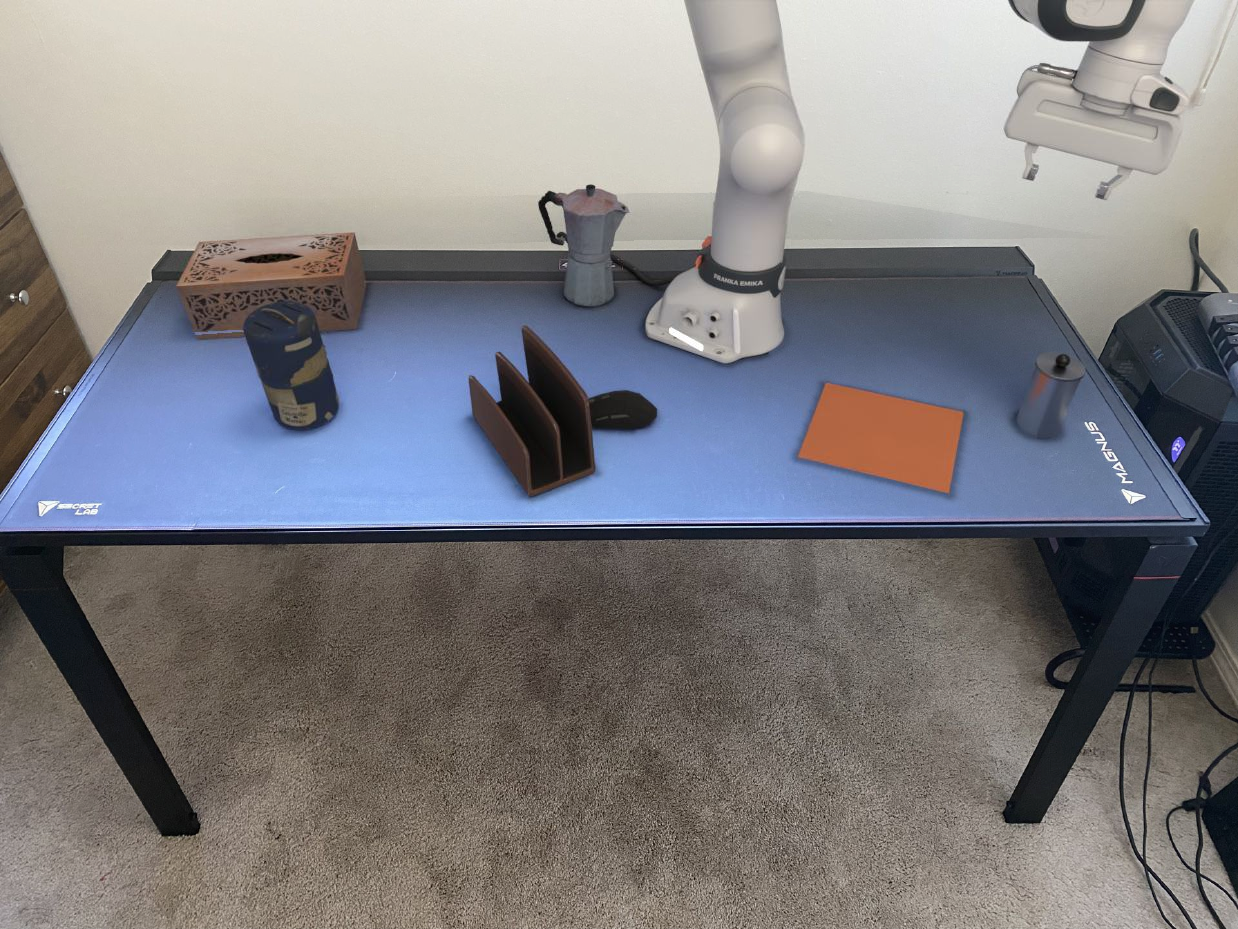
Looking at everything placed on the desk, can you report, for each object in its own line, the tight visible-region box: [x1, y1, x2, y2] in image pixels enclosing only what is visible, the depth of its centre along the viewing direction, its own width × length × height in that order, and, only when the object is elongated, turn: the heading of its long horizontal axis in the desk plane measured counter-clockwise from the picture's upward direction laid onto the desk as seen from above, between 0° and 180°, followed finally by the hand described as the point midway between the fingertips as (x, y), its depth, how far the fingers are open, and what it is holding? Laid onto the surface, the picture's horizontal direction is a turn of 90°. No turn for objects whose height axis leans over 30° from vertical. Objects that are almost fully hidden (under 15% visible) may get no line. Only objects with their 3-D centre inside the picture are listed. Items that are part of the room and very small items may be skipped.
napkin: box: [797, 382, 964, 494], centre depth 125 cm, size 20×18×1 cm
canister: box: [243, 301, 340, 431], centre depth 125 cm, size 10×10×18 cm
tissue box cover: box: [175, 231, 368, 341], centre depth 149 cm, size 26×14×10 cm, turn 96°
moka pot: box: [537, 183, 630, 307], centre depth 148 cm, size 10×15×20 cm, turn 78°
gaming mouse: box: [588, 389, 658, 431], centre depth 128 cm, size 6×15×4 cm, turn 88°
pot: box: [1016, 351, 1087, 440], centre depth 122 cm, size 6×6×12 cm
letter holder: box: [468, 325, 596, 498], centre depth 120 cm, size 10×20×14 cm, turn 29°
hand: (1063, 188), depth 118 cm, fingers open, 8 cm apart
